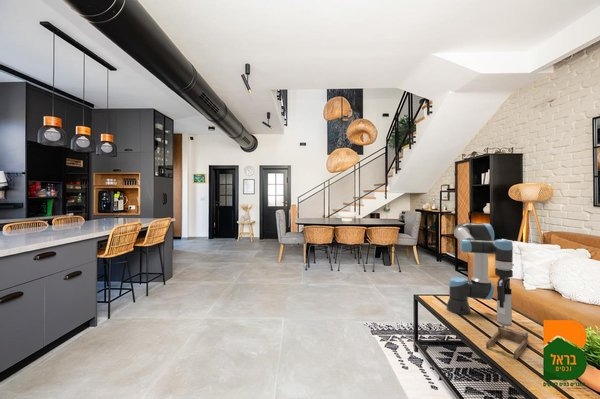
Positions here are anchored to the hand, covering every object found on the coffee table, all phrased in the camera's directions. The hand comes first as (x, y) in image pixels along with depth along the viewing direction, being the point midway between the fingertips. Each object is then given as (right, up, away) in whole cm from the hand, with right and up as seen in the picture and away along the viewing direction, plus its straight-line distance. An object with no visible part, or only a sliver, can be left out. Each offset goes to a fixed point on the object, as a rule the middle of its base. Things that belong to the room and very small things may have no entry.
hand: (503, 311), depth 139 cm
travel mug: (0, -7, 0) cm, 7 cm away
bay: (+6, -21, +5) cm, 22 cm away
